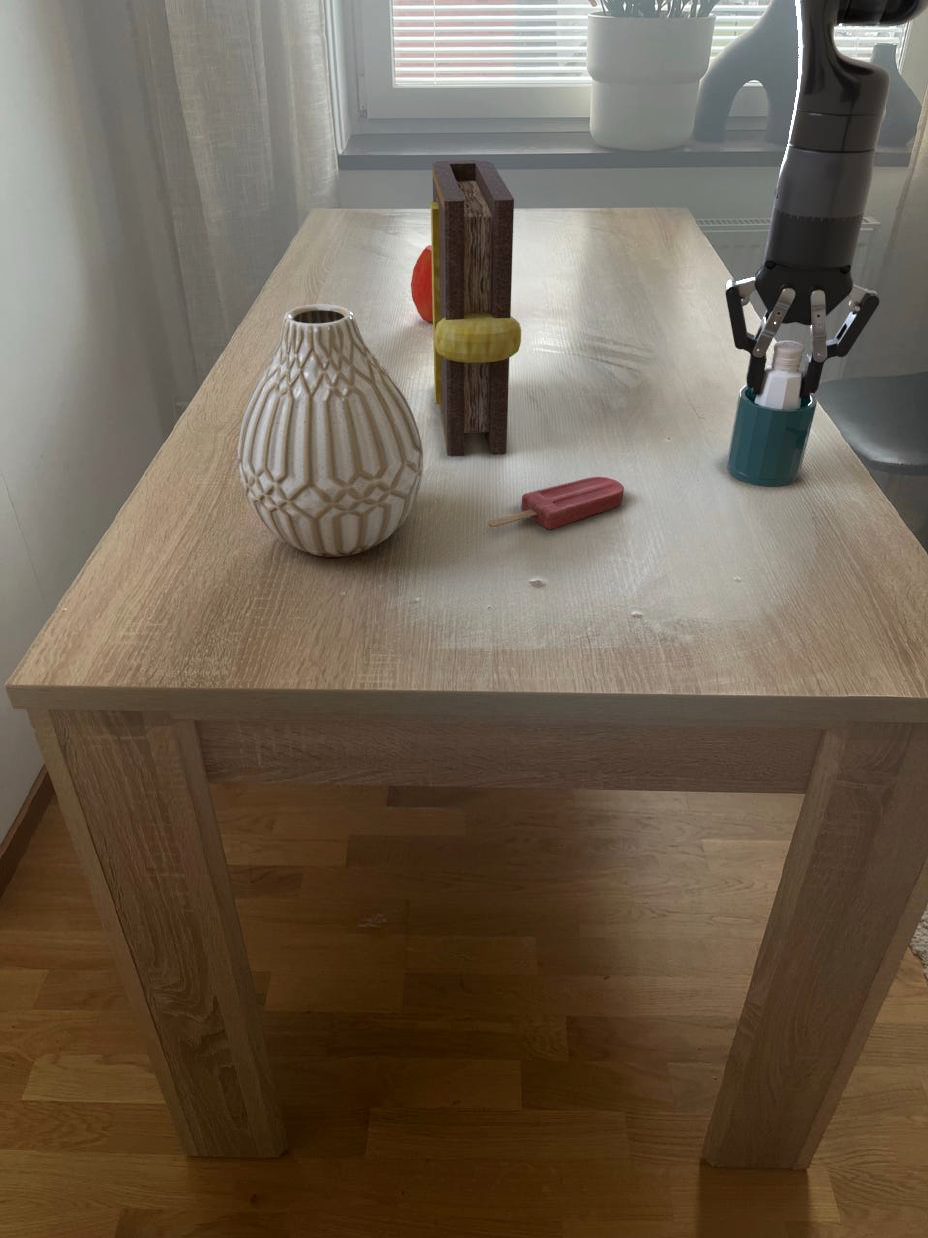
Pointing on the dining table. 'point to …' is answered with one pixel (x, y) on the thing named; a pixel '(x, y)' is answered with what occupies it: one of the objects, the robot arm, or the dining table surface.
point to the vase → (328, 439)
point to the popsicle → (567, 502)
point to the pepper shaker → (783, 377)
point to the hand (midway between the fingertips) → (779, 392)
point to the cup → (768, 441)
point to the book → (472, 301)
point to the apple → (423, 285)
